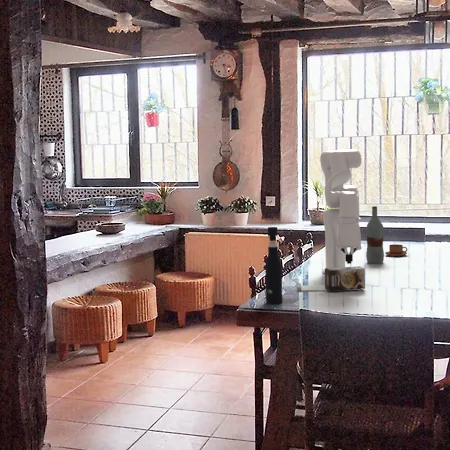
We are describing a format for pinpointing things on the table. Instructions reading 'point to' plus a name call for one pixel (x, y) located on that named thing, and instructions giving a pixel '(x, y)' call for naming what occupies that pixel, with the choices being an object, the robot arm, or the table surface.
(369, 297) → the table surface
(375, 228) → the vodka
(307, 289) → the pale green rectangular board
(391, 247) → the cup and saucer
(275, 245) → the wine bottle
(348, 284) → the coffee box
